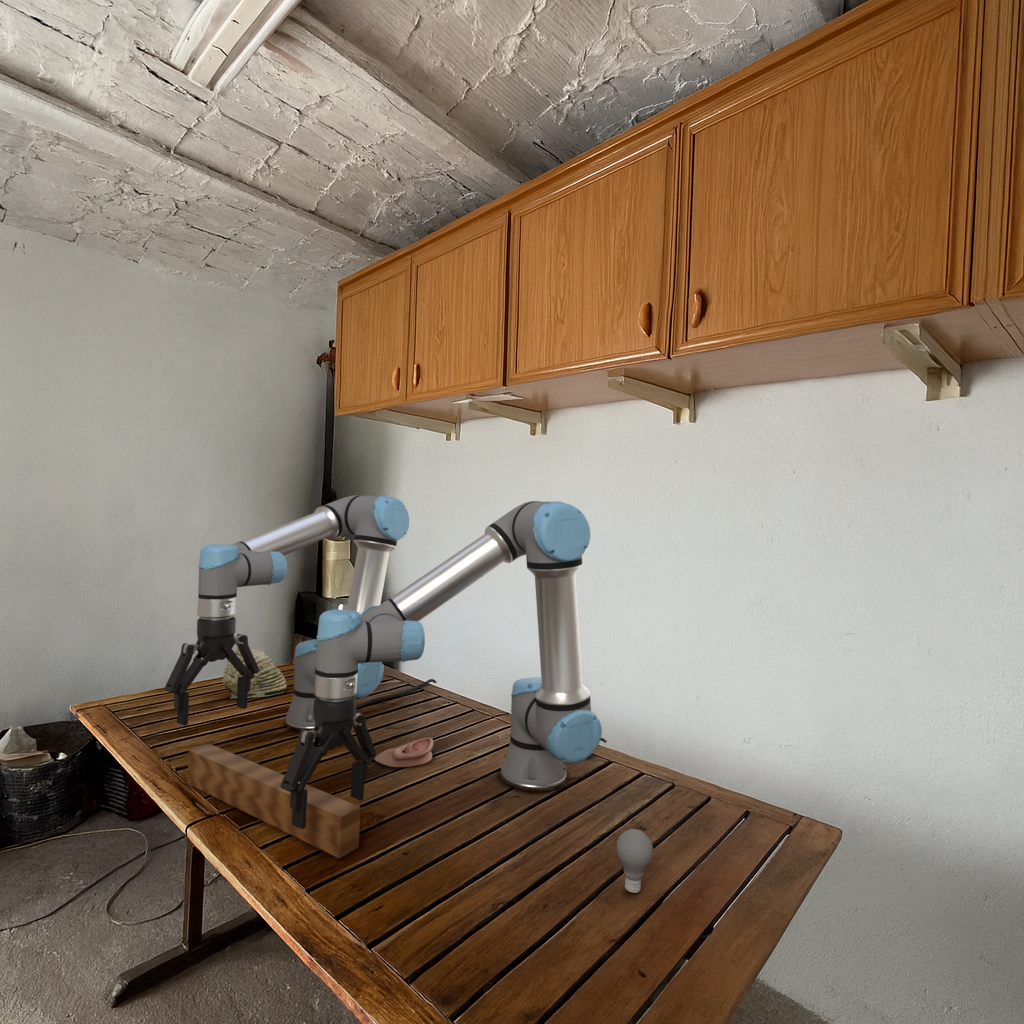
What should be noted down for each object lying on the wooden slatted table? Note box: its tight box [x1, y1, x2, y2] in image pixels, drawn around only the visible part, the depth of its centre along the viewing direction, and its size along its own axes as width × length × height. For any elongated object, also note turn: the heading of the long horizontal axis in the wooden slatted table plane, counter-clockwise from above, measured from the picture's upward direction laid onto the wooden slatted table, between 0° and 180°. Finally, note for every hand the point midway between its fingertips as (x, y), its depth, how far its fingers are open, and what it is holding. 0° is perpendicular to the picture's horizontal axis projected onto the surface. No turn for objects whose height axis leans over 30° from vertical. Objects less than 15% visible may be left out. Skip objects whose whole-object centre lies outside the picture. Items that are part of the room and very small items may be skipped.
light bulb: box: [615, 828, 654, 894], centre depth 106 cm, size 6×6×10 cm
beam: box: [186, 743, 361, 859], centre depth 126 cm, size 47×5×7 cm, turn 57°
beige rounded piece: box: [374, 737, 434, 768], centre depth 155 cm, size 13×4×12 cm
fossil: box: [222, 647, 288, 699], centre depth 198 cm, size 9×18×15 cm, turn 132°
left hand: (213, 715), depth 136 cm, fingers open, 13 cm apart
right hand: (329, 811), depth 116 cm, fingers open, 13 cm apart
